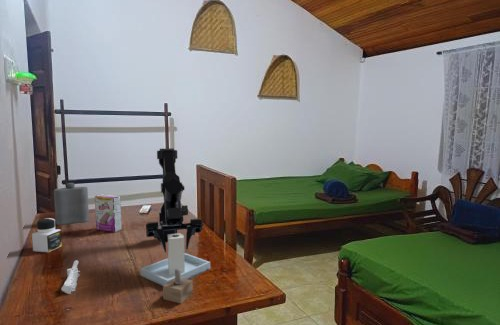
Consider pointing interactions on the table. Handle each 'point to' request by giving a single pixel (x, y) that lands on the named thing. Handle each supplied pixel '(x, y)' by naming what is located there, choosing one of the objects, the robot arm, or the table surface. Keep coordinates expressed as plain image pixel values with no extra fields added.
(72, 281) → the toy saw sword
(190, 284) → the wood block with post
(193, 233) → the robot arm
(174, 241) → the bored block
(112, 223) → the candy bar box
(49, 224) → the medicine bottle
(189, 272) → the tray
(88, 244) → the table surface
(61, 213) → the flask
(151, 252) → the table surface
